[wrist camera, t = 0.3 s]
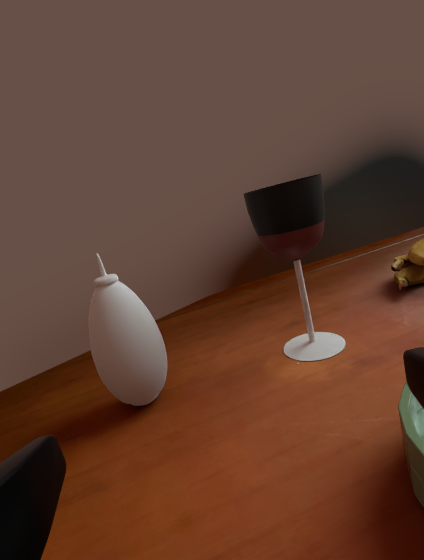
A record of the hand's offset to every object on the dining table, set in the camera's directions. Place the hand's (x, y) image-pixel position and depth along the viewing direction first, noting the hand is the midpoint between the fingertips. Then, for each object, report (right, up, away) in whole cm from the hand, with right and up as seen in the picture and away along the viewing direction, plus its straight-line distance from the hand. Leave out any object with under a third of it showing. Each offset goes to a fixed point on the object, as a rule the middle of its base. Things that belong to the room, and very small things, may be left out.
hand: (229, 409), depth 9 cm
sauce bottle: (-8, -11, +32) cm, 35 cm away
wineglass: (+12, -5, +35) cm, 37 cm away
